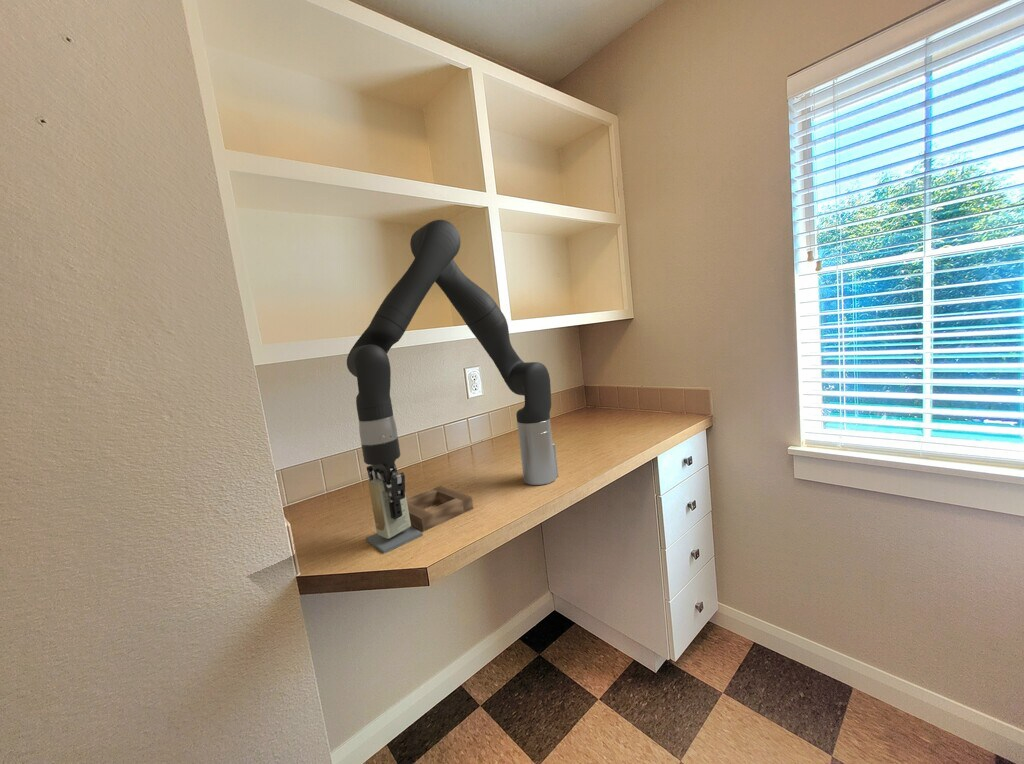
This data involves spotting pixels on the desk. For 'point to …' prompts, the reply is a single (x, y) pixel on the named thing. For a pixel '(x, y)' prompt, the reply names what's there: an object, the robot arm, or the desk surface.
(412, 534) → the mat
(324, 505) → the desk surface
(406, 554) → the desk surface
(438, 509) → the collar
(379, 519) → the skincare box
